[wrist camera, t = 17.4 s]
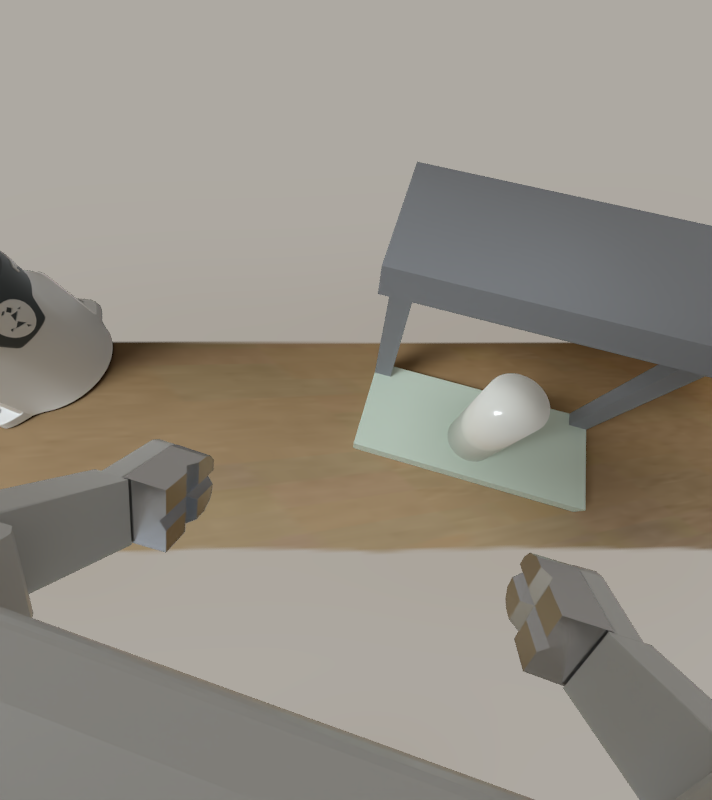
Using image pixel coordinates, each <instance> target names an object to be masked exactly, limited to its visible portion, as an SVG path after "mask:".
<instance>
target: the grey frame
mask: <svg viewBox="0 0 712 800" xmlns="http://www.w3.org/2000/svg"><path fill="white" fill-rule="evenodd" d="M378 294H382V295H385V296H389V302H388V306H387V312H386V317H385V323H384V327H383V333H382V338H381V343H380V348H379V354H378V359H377V364H376V370H375V374H374V377H373V381H372V384H371V387H370V391H369V394H368V397H367V401H366V404H365V407H364V411H363V414H362V417H361V421H360V424H359V427H358V431H357V434H356V437H355V441H354V446H353V448H356V449H359V450H362V451H366V452H369V453H373V454H376V455H380V456H383V457H387V458H390V459H393V460H397V461H400V462H404V463H407V464H411V465H414V466H418V467H421V468H424V469H428V470H431V471H435V472H438V473H442V474H445V475H448V476H452V477H455V478H459V479H462V480H466V481H469V482H473V483H476V484H479V485H483V486H486V487H490V488H493V489H497V490H500V491H504V492H507V493H510V494H514V495H517V496H521V497H524V498H528V499H531V500H535V501H538V502H541V503H545V504H548V505H552V506H555V507H559V508H562V509H565V510H569V511H572V512H576V511H585V501H586V429H589V428H591V427H593V426H595V425H597V424H600V423H602V422H604V421H606V420H609V419H611V418H613V417H615V416H618V415H620V414H622V413H624V412H626V411H629V410H631V409H633V408H635V407H638V406H640V405H642V404H644V403H647V402H649V401H651V400H653V399H655V398H658V397H660V396H662V395H664V394H667V393H669V392H671V391H673V390H675V389H678V388H680V387H682V386H684V385H687V384H689V383H691V382H693V381H696V380H698V379H700V378H702V377H704V376H707V377H711V378H712V226H710V225H705V224H700V223H696V222H691V221H687V220H682V219H678V218H673V217H668V216H664V215H659V214H655V213H650V212H645V211H641V210H636V209H632V208H627V207H622V206H618V205H613V204H609V203H604V202H599V201H594V200H590V199H585V198H581V197H576V196H571V195H567V194H563V193H558V192H554V191H549V190H544V189H540V188H535V187H531V186H526V185H521V184H517V183H512V182H507V181H503V180H498V179H494V178H489V177H485V176H480V175H475V174H471V173H466V172H461V171H457V170H452V169H448V168H443V167H439V166H434V165H430V164H424V163H420V162H417V164H416V167H415V170H414V173H413V176H412V179H411V182H410V185H409V188H408V191H407V194H406V196H405V200H404V202H403V205H402V208H401V212H400V214H399V217H398V220H397V223H396V226H395V229H394V232H393V235H392V238H391V241H390V244H389V247H388V250H387V253H386V255H385V258H384V261H383V264H382V269H381V276H380V283H379V291H378ZM412 302H413V303H417V304H421V305H425V306H429V307H433V308H437V309H441V310H445V311H449V312H453V313H457V314H461V315H465V316H469V317H473V318H476V319H480V320H485V321H489V322H492V323H496V324H500V325H504V326H509V327H512V328H516V329H520V330H525V331H528V332H532V333H537V334H540V335H544V336H549V337H552V338H556V339H560V340H564V341H568V342H572V343H576V344H580V345H584V346H588V347H592V348H596V349H600V350H604V351H608V352H612V353H616V354H620V355H624V356H628V357H631V358H635V359H639V360H643V361H647V362H651V363H655V364H659V365H657V366H655V367H653V368H651V369H650V370H648V371H646V372H644V373H642V374H640V375H639V376H637V377H635V378H633V379H631V380H630V381H628V382H626V383H624V384H622V385H621V386H619V387H617V388H615V389H613V390H611V391H610V392H608V393H606V394H604V395H602V396H601V397H599V398H597V399H595V400H593V401H592V402H590V403H588V404H586V405H584V406H582V407H581V408H579V409H577V410H575V411H573V412H572V413H570V414H568V413H565V412H561V411H557V410H554V409H550V415H549V419H548V421H547V422H546V424H545V425H544V426H543V427H542V428H541V429H539V430H537V431H536V432H534V433H532V434H530V435H528V436H526V437H525V438H523V439H521V440H519V441H517V442H515V443H514V444H512V445H510V446H508V447H506V448H504V449H503V450H501V451H499V452H497V453H495V454H493V455H492V456H490V457H488V458H486V459H484V460H482V461H478V462H472V461H467V460H464V459H462V458H461V457H459V456H458V455H457V454H456V453H455V452H454V451H453V450H452V448H451V447H450V445H449V442H448V429H449V427H450V425H451V423H452V422H453V421H454V420H455V419H456V418H457V417H458V416H459V415H460V414H461V413H462V412H463V411H464V410H465V409H466V408H467V406H468V405H469V404H470V403H471V402H472V401H473V400H474V399H475V398H476V397H477V396H478V395H479V394H480V393H481V392H482V391H483V390H479V389H475V388H472V387H468V386H464V385H460V384H457V383H453V382H449V381H445V380H442V379H438V378H434V377H431V376H427V375H423V374H419V373H416V372H412V371H408V370H404V369H401V368H397V367H393V366H394V363H395V359H396V356H397V352H398V349H399V346H400V342H401V339H402V335H403V331H404V328H405V325H406V321H407V318H408V315H409V311H410V308H411V304H412Z"/></svg>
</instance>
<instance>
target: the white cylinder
mask: <svg viewBox="0 0 712 800" xmlns="http://www.w3.org/2000/svg"><path fill="white" fill-rule="evenodd" d="M549 415H550V403H549V400H548V397H547V395H546V393H545V392H544V390H543V389H542V388H541V387H540V386H539V385H538V384H537V383H536V382H535V381H533V380H532V379H530V378H528V377H526V376H523V375H520V374H513V373H511V374H503V375H500V376H498V377H496V378H495V379H494V380H492V381H491V382H490V383H489V385H488V386H487V387H486V388H485V389H484V390H483V391H482V392H481V393H480V394H479V395H478V396H477V397H476V398H475V399H474V400H473V401H472V402H471V403H470V404H469V405H468V406H467V408H466V409H465V410H464V411H463V412H462V413H461V414H460V415H459V416H458V417H457V418H456V419H455V420H454V421H453V422H452V423H451V425H450V427H449V429H448V442H449V445H450V447H451V448H452V450H453V451H454V452H455V453H456V454H457V455H458V456H459V457H461V458H462V459H464V460H467V461H472V462H478V461H482V460H484V459H486V458H488V457H490V456H492V455H493V454H495V453H497V452H499V451H501V450H503V449H504V448H506V447H508V446H510V445H512V444H514V443H515V442H517V441H519V440H521V439H523V438H525V437H526V436H528V435H530V434H532V433H534V432H536V431H537V430H539V429H541V428H542V427H543V426H544V425H545V424H546V422H547V421H548V419H549Z"/></svg>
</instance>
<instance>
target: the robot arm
mask: <svg viewBox="0 0 712 800" xmlns="http://www.w3.org/2000/svg"><path fill="white" fill-rule="evenodd" d="M112 351H113V344H112V339H111V336H110V333H109V332H108V330H107V329H106V327H105V326H104V324H103V322H102V309H101V307H100V305H99V304H97V303H96V302H95V301H93V300H87V299H77V298H75V297H74V296H73V295H71V294H70V293H69V292H68V291H66V290H65V289H64V288H63V287H61V286H60V285H59V284H57V283H56V282H55V281H54V280H52V279H51V278H50V277H48V276H47V275H45V274H44V273H42V272H34V271H28V270H22V269H21V268H20V267H18V266H17V265H16V264H15V263H14V261H12V259H10V258H9V257H8V256H7V255H5V254H4V253H3V252H1V251H0V412H1V413H0V427H2V428H11V427H13V426H16V425H18V424H20V423H21V422H23V421H25V420H27V419H28V418H30V417H31V416H33V415H36V414H39V413H42V412H46V411H50V410H54V409H57V408H60V407H63V406H65V405H67V404H69V403H71V402H73V401H75V400H77V399H78V398H80V397H81V396H83V395H84V394H85V393H87V392H88V391H89V390H90V389H91V388H92V387H93V386H94V385H95V384H96V383H97V382H98V381H99V380H100V379H101V377H102V376H103V375H104V373H105V371H106V370H107V368H108V365H109V363H110V360H111V357H112ZM213 470H214V459H213V458H212V457H211V456H210V455H207V454H204V453H201V452H198V451H195V450H192V449H189V448H185V447H182V446H179V445H175V444H173V443H169V442H166V441H163V440H160V439H156V440H152V441H150V442H148V443H147V444H145V445H143V446H142V447H140V448H138V449H137V450H135V451H133V452H132V453H130V454H129V455H127V456H125V457H124V458H122V459H120V460H119V461H117V462H115V463H114V464H112V465H111V466H109V467H107V468H106V469H104V470H102V471H99V470H96V469H94V470H90V471H85V472H80V473H76V474H71V475H66V476H62V477H57V478H52V479H48V480H43V481H38V482H34V483H29V484H24V485H20V486H15V487H10V488H6V489H1V490H0V800H534V799H531V798H528V797H526V796H523V795H520V794H517V793H514V792H512V791H509V790H506V789H504V788H501V787H498V786H495V785H493V784H490V783H487V782H484V781H481V780H479V779H476V778H473V777H470V776H468V775H465V774H462V773H459V772H457V771H454V770H451V769H448V768H446V767H443V766H440V765H437V764H435V763H432V762H429V761H426V760H424V759H421V758H418V757H415V756H412V755H410V754H407V753H404V752H401V751H399V750H396V749H393V748H390V747H388V746H385V745H382V744H379V743H376V742H374V741H371V740H368V739H366V738H362V737H360V736H357V735H354V734H352V733H349V732H346V731H343V730H341V729H338V728H335V727H332V726H330V725H327V724H324V723H321V722H319V721H315V720H313V719H310V718H307V717H304V716H302V715H299V714H296V713H294V712H291V711H288V710H285V709H282V708H280V707H277V706H274V705H271V704H269V703H266V702H263V701H260V700H258V699H255V698H252V697H249V696H246V695H243V694H241V693H238V692H235V691H233V690H229V689H227V688H224V687H221V686H219V685H216V684H213V683H210V682H208V681H205V680H202V679H199V678H197V677H194V676H191V675H188V674H185V673H183V672H180V671H177V670H174V669H172V668H169V667H166V666H163V665H160V664H158V663H155V662H152V661H150V660H147V659H144V658H141V657H138V656H136V655H133V654H130V653H127V652H125V651H122V650H119V649H116V648H113V647H111V646H108V645H105V644H102V643H99V642H97V641H94V640H91V639H88V638H86V637H83V636H80V635H78V634H75V633H72V632H69V631H67V630H64V629H61V628H58V627H55V626H52V625H50V624H47V623H44V622H42V621H39V620H36V619H33V618H32V617H33V610H32V606H31V602H30V598H29V594H30V593H32V592H34V591H36V590H38V589H40V588H42V587H44V586H47V585H49V584H51V583H53V582H55V581H57V580H59V579H61V578H63V577H65V576H67V575H69V574H71V573H74V572H76V571H78V570H80V569H82V568H84V567H86V566H88V565H90V564H92V563H94V562H96V561H98V560H101V559H102V558H105V557H107V556H109V555H111V554H113V553H115V552H117V551H119V550H121V549H123V548H125V547H128V546H130V545H131V544H132V543H135V544H139V545H142V546H145V547H149V548H152V549H156V550H159V551H162V552H167V551H168V550H169V549H170V548H171V547H172V545H173V544H174V543H175V542H176V541H177V540H178V539H179V538H180V537H181V536H182V535H183V534H184V532H185V523H188V522H190V521H193V520H196V519H197V518H198V517H199V516H200V515H201V513H202V512H203V511H204V509H205V508H206V506H207V504H208V502H209V500H210V497H211V493H212V485H213V484H212V482H211V480H210V479H209V477H208V475H209V474H210V473H211V472H212V471H213ZM520 565H521V568H522V571H523V573H520V574H518V575H516V576H514V577H512V579H511V581H510V583H509V585H508V587H507V593H506V609H507V613H508V617H509V620H510V621H511V622H512V624H513V625H514V626H515V628H516V629H517V630H518V633H517V635H516V637H515V639H514V640H515V643H516V647H517V651H518V654H519V658H520V662H521V665H522V669H523V671H524V672H527V673H529V674H532V675H535V676H538V677H541V678H543V679H546V680H549V681H551V682H554V683H557V684H560V685H563V686H564V690H565V691H566V693H567V694H568V696H569V697H570V699H571V700H572V702H573V703H574V705H575V706H576V707H577V709H578V710H579V712H580V713H581V715H582V716H583V718H584V719H585V721H586V722H587V724H588V725H589V726H590V728H591V729H592V731H593V732H594V734H595V735H596V737H597V738H598V740H599V741H600V743H601V744H602V746H603V747H604V748H605V750H606V751H607V753H608V754H609V756H610V757H611V759H612V760H613V762H614V763H615V764H616V766H617V767H618V769H619V770H620V772H621V773H622V775H623V776H624V778H625V779H626V780H627V782H628V783H629V785H630V786H631V788H632V789H633V791H634V792H635V794H636V795H637V797H638V798H639V799H640V800H712V699H710V697H708V696H707V695H706V694H705V693H704V692H703V691H702V690H701V689H699V688H698V687H697V686H696V685H695V684H694V683H693V682H692V681H691V680H689V679H688V678H687V677H686V676H685V675H684V674H683V673H682V672H681V671H680V670H678V669H677V668H676V667H675V666H674V665H673V664H672V663H671V662H670V661H668V660H667V659H666V658H665V657H664V656H663V655H662V654H661V653H659V652H658V651H657V650H656V649H655V648H654V647H653V646H652V645H649V644H646V643H643V641H642V639H641V638H640V636H639V635H638V633H637V631H636V630H635V628H634V627H633V625H632V623H631V622H630V620H629V619H628V617H627V616H626V614H625V612H624V610H623V609H622V607H621V606H620V604H619V602H618V601H617V599H616V598H615V596H614V594H613V593H612V591H611V590H610V588H609V586H608V585H607V583H606V582H605V580H604V578H603V577H602V576H601V575H600V574H598V573H597V572H596V571H593V570H589V569H585V568H582V567H578V566H574V565H569V564H566V563H562V562H559V561H556V560H552V559H549V558H545V557H542V556H539V555H535V554H532V553H529V554H528V555H526V556H525V557H524V558H523V560H522V562H521V564H520Z"/></svg>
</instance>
